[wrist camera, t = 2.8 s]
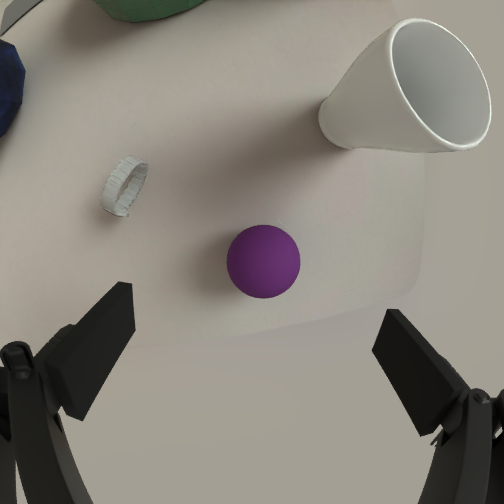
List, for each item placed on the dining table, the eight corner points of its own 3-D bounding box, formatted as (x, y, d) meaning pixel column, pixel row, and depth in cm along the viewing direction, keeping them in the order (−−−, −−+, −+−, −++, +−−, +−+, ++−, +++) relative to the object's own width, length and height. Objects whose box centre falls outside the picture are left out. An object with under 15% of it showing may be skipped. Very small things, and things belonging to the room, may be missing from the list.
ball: (299, 223, 25) (313, 239, 19) (288, 283, 26) (298, 314, 21) (232, 215, 24) (227, 229, 19) (226, 277, 26) (220, 307, 20)
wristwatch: (115, 200, 24) (88, 208, 19) (136, 153, 23) (111, 151, 18) (138, 213, 24) (114, 224, 20) (161, 166, 23) (140, 167, 18)
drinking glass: (365, 168, 23) (482, 179, 9) (298, 140, 22) (369, 102, 8) (384, 106, 21) (495, 70, 7) (320, 76, 21) (395, -8, 6)
